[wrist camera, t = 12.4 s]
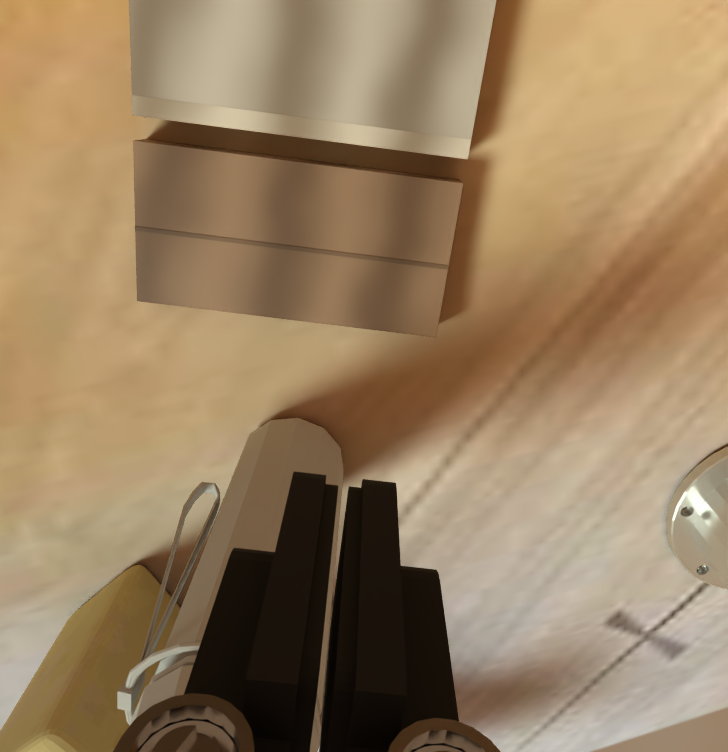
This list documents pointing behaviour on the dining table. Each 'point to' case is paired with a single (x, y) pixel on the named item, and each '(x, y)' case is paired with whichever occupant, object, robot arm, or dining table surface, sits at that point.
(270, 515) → the water bottle
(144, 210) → the laid board
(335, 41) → the board
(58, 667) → the cheese
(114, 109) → the dining table surface
